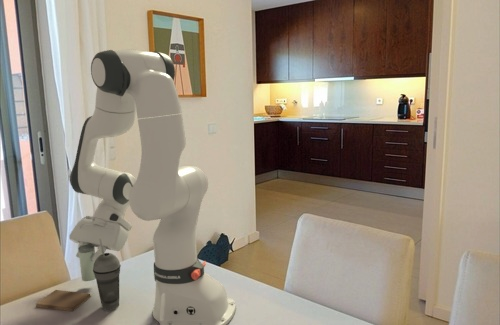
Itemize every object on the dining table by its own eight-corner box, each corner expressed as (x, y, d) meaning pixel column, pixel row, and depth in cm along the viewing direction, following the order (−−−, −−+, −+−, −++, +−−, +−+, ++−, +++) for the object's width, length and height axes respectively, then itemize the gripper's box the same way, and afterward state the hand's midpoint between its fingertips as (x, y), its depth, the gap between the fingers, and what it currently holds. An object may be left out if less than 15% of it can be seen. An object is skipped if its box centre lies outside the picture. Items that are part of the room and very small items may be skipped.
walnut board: (90, 296, 119) (90, 293, 119) (72, 311, 111) (72, 307, 111) (56, 292, 122) (55, 289, 122) (36, 306, 114) (35, 303, 114)
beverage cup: (115, 314, 109) (108, 244, 105) (91, 312, 110) (84, 243, 107) (129, 300, 116) (122, 234, 112) (106, 298, 117) (99, 233, 114)
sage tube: (100, 275, 126) (97, 244, 124) (91, 281, 122) (88, 250, 120) (87, 273, 127) (84, 243, 125) (78, 280, 123) (74, 249, 121)
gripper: (77, 210, 132) (55, 249, 125) (125, 217, 123) (103, 260, 116) (90, 219, 137) (69, 257, 130) (136, 227, 128) (116, 268, 121)
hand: (85, 259), depth 123 cm, fingers closed on sage tube, 4 cm apart
